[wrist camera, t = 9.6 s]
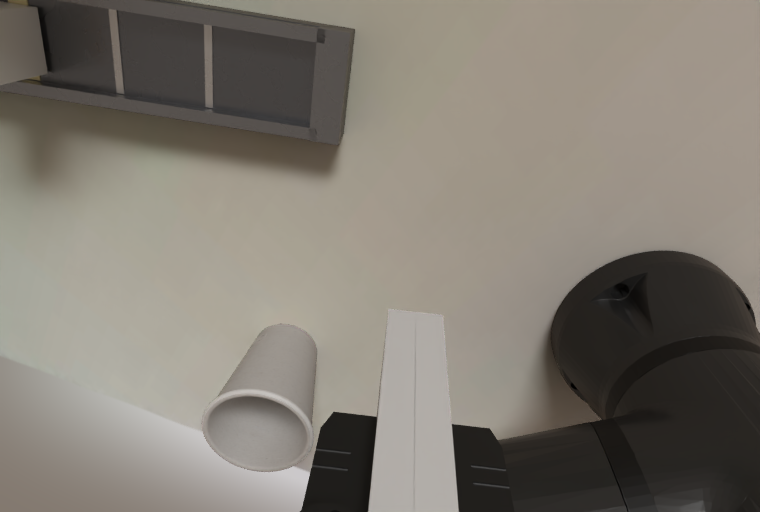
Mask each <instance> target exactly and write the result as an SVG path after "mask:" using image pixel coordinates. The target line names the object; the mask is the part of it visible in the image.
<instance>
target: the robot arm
mask: <svg viewBox="0 0 760 512" xmlns="http://www.w3.org/2000/svg"><path fill="white" fill-rule="evenodd" d="M551 344H552V350H553V353H554V356H555V359H556V362H557V364H558V367H559V369H560V372H561V374H562V376H563V378H564V379H565V381H566V383H567V384H568V385H569V387H570V388H571V389H572V390H573V391H574V392H575V393H576V394H577V395H578V396H579V397H580V398H581V399H582V400H584V401H585V402H587V403H588V404H589V406H590V407H591V409H592V410H593V411H594V412H595V413H596V414H597V415H598V416H599V417H600V418H601V419H602V420H600V421H595V422H588V423H583V424H578V425H573V426H568V427H563V428H558V429H553V430H548V431H543V432H538V433H533V434H528V435H523V436H518V437H513V438H508V439H503V440H497V439H496V437H495V436H494V434H493V433H492V431H491V430H490V429H488V428H480V427H471V426H463V425H454V424H452V421H451V409H450V396H449V383H448V371H447V358H446V346H445V333H444V321H443V315H440V314H431V313H422V312H413V311H404V310H395V309H389V310H388V318H387V327H386V336H385V345H384V354H383V363H382V372H381V381H380V390H379V400H378V410H377V417H373V416H365V415H356V414H348V413H339V412H333V414H332V415H331V416H330V417H329V418H328V420H327V421H326V422H325V423H324V425H323V426H322V427H321V429H320V434H319V438H318V442H317V446H316V451H315V455H314V459H313V464H312V468H311V472H310V477H309V481H308V485H307V490H306V494H305V498H304V502H303V507H302V510H301V511H300V512H760V333H759V331H758V329H757V327H756V321H755V316H754V312H753V310H752V307H751V304H750V302H749V300H748V298H747V297H746V295H745V294H744V292H743V291H742V290H741V288H740V287H739V286H738V285H737V284H736V283H735V282H734V281H733V280H732V279H731V278H730V277H729V276H727V275H726V274H725V273H724V272H723V271H722V270H721V269H720V268H718V267H717V266H716V265H714V264H713V263H711V262H709V261H707V260H705V259H703V258H701V257H698V256H695V255H692V254H688V253H683V252H676V251H650V252H643V253H638V254H634V255H630V256H626V257H623V258H620V259H618V260H615V261H613V262H611V263H608V264H606V265H604V266H603V267H601V268H599V269H597V270H596V271H594V272H593V273H591V274H590V275H588V276H587V277H586V278H584V279H583V280H582V281H581V282H580V283H579V284H577V285H576V286H575V287H574V288H573V289H572V291H571V292H570V293H569V294H568V295H567V297H566V298H565V299H564V301H563V302H562V304H561V306H560V308H559V309H558V311H557V314H556V316H555V319H554V322H553V326H552V333H551Z"/></svg>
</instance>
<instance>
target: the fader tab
mask: <svg viewBox="0 0 760 512" xmlns="http://www.w3.org/2000/svg"><path fill="white" fill-rule="evenodd" d="M44 74H48V72H47V65H46V59H45V53H44V47H43V40H42V34H41V28H40V21H39V15H38V9H37V7H34V6H28V5H21V4H15V3H9V2H3V1H0V85H3V84H7V83H12V82H16V81H20V80H24V79H28V78H32V77H36V76H40V75H44Z"/></svg>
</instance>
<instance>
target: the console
mask: <svg viewBox="0 0 760 512" xmlns="http://www.w3.org/2000/svg"><path fill="white" fill-rule="evenodd" d="M0 1H3V2H9V3H15V4H21V5H28V6H34V7H37V9H38V15H39V21H40V28H41V34H42V40H43V47H44V53H45V59H46V65H47V72H48V74H44V75H40V76H36V77H32V78H28V79H24V80H20V81H16V82H12V83H7V84H3V85H0V91H4V92H10V93H16V94H23V95H29V96H35V97H41V98H48V99H54V100H60V101H67V102H73V103H79V104H86V105H92V106H98V107H104V108H111V109H117V110H123V111H130V112H136V113H142V114H149V115H155V116H161V117H167V118H174V119H180V120H186V121H193V122H199V123H205V124H212V125H218V126H224V127H231V128H237V129H243V130H249V131H256V132H262V133H268V134H275V135H281V136H287V137H294V138H300V139H306V140H309V141H314V142H320V143H327V144H333V145H339V142H340V140H341V138H342V136H343V134H344V125H345V116H346V107H347V98H348V89H349V80H350V71H351V62H352V53H353V44H354V35H355V29H351V28H345V27H339V26H333V25H327V24H321V23H315V22H308V21H302V20H296V19H290V18H284V17H278V16H272V15H266V14H259V13H253V12H247V11H241V10H235V9H229V8H223V7H217V6H210V5H204V4H198V3H192V2H186V1H180V0H0Z"/></svg>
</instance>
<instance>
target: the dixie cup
mask: <svg viewBox="0 0 760 512" xmlns="http://www.w3.org/2000/svg"><path fill="white" fill-rule="evenodd" d="M316 358H317V348H316V345H315V342H314V341H313V339H312V338H311V336H310V335H309V334H307V332H305V331H304V330H302V329H301V328H298V327H296V326H293V325H288V324H277V325H272V326H269V327H267V328H266V329H264V330H263V331H262V332H261V333H260V334H259V335H258V337H257V338H256V340H255V341H254V342H253V344H252V345H251V347H250V348H249V350H248V352H247V353H246V355H245V356H244V358H243V359H242V361H241V362H240V364H239V365H238V367H237V368H236V370H235V371H234V373H233V374H232V376H231V377H230V379H229V380H228V381H227V383H226V384H225V386H224V387H223V389H222V390H221V392H220V393H219V395H218V396H217V398H215V399H214V400H213V401H212V402H211V403H210V404H209V405H208V406H207V408H206V409H205V411H204V414H203V417H202V430H203V434H204V437H205V439H206V441H207V442H208V444H209V445H210V447H211V448H212V449H213V450H214V451H215V452H216V453H217V454H218V455H219V456H221V457H222V458H223V459H225V460H226V461H228V462H230V463H232V464H234V465H236V466H238V467H241V468H244V469H248V470H253V471H261V472H271V471H272V472H273V471H279V470H284V469H287V468H290V467H292V466H294V465H296V464H298V463H299V462H301V461H302V460H303V459H304V458H305V457H306V456H307V455H308V453H309V452H310V450H311V448H312V445H313V440H314V433H313V428H312V415H313V401H314V386H315V372H316Z"/></svg>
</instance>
